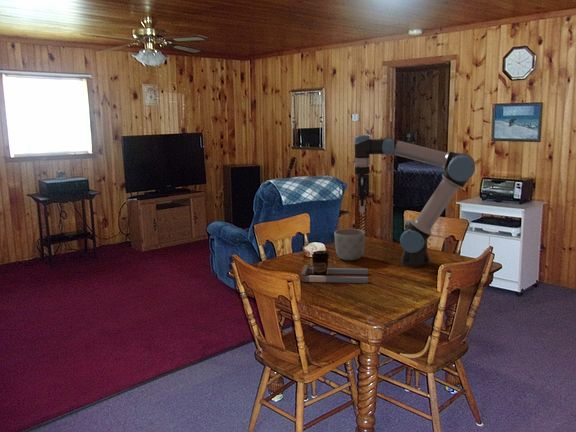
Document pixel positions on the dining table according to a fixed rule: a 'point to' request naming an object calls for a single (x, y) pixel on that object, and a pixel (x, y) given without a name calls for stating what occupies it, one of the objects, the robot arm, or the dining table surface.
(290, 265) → the dining table surface
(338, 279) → the beam slot
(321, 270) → the coffee cup
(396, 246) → the dining table surface
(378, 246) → the dining table surface
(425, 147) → the robot arm
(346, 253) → the planter
